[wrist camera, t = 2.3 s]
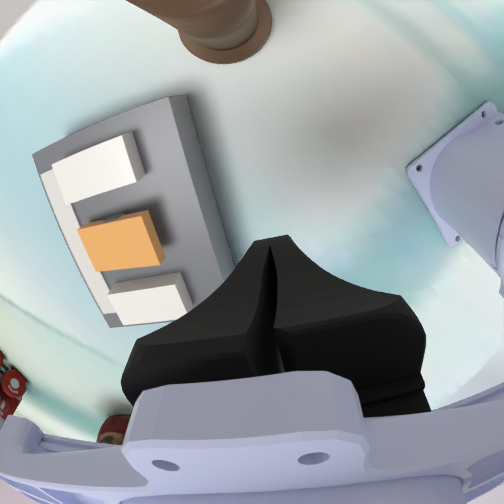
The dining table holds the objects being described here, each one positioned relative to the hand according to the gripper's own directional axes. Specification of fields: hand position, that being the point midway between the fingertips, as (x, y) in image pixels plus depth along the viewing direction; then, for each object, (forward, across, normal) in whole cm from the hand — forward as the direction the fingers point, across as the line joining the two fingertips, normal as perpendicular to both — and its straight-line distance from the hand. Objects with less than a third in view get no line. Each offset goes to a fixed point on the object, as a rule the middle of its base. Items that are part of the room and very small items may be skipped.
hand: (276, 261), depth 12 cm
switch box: (+11, +9, 0) cm, 14 cm away
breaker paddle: (+6, +9, 0) cm, 11 cm away
